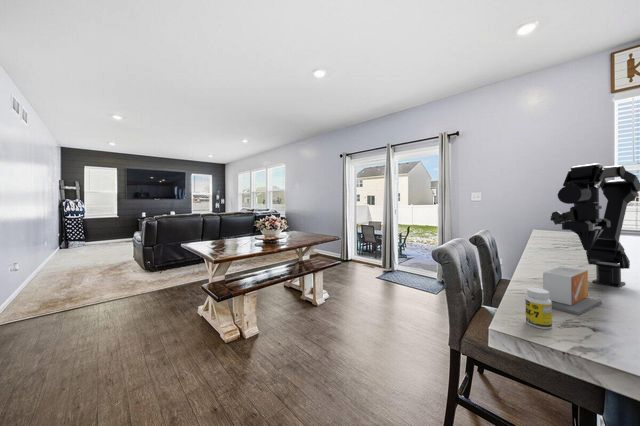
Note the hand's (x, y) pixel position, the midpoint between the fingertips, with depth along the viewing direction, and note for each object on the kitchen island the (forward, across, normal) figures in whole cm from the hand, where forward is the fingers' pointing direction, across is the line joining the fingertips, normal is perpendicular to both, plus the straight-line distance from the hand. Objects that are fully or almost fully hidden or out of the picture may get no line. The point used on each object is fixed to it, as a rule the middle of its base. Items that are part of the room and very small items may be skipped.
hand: (587, 250), depth 82 cm
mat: (+13, +20, +1) cm, 24 cm away
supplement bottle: (+13, +42, +4) cm, 44 cm away
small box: (+8, +11, 0) cm, 14 cm away
